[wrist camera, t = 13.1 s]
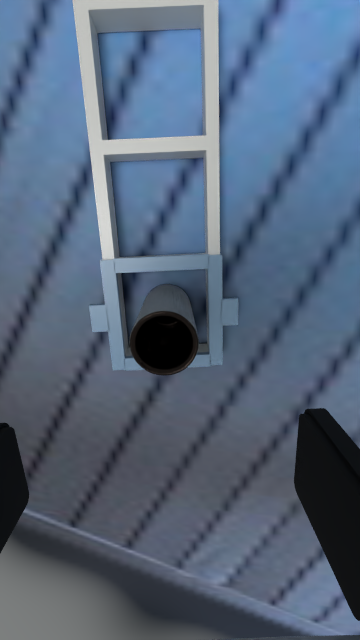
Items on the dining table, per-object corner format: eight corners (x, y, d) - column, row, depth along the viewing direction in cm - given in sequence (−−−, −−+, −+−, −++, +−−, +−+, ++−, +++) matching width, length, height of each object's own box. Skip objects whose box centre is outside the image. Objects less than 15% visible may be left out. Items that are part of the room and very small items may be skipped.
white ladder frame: (233, 10, 23) (242, -23, 20) (231, 352, 31) (237, 365, 28) (62, 18, 23) (45, -15, 20) (105, 358, 31) (97, 371, 28)
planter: (183, 277, 28) (188, 302, 19) (195, 321, 30) (206, 366, 20) (138, 291, 29) (119, 322, 19) (152, 333, 30) (141, 383, 20)
